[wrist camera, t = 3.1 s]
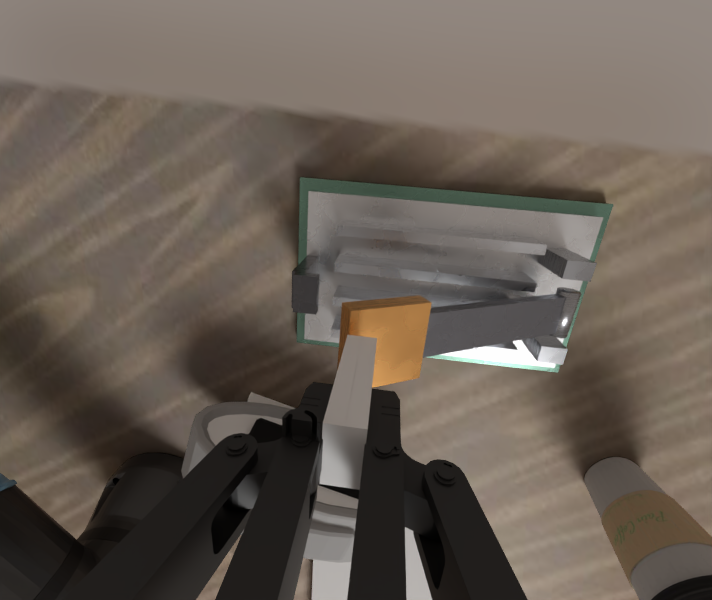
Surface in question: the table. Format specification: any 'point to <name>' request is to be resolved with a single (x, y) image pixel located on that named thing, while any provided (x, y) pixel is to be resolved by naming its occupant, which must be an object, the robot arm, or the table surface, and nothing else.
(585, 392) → the table surface
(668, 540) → the coffee cup
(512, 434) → the table surface
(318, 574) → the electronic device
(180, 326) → the table surface
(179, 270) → the table surface
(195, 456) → the alarm clock
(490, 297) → the heatsink
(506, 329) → the orange tipped grey lever
